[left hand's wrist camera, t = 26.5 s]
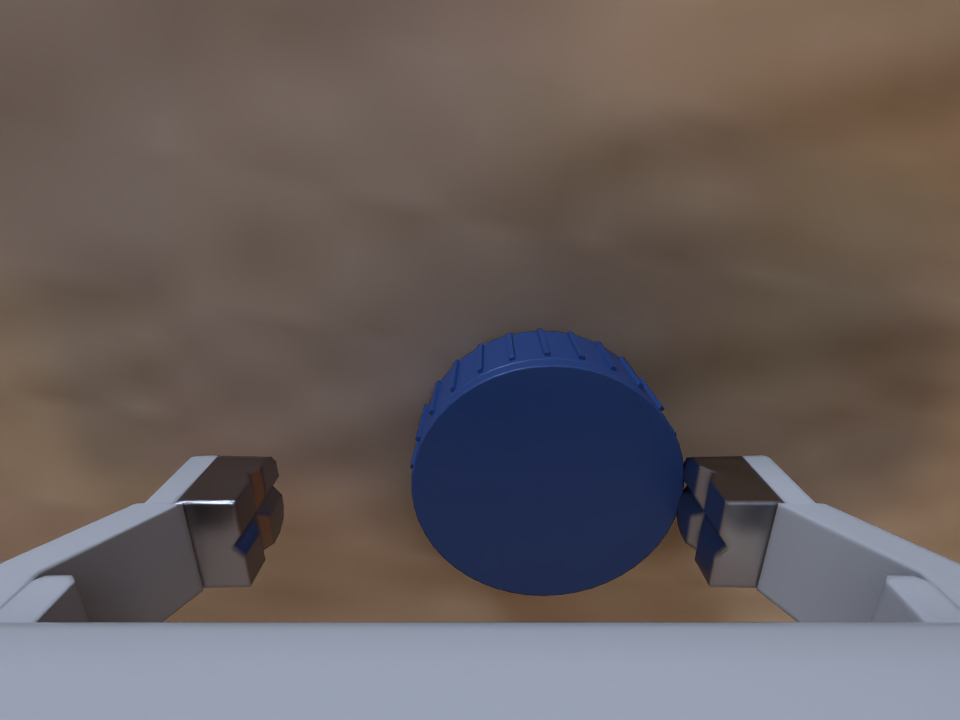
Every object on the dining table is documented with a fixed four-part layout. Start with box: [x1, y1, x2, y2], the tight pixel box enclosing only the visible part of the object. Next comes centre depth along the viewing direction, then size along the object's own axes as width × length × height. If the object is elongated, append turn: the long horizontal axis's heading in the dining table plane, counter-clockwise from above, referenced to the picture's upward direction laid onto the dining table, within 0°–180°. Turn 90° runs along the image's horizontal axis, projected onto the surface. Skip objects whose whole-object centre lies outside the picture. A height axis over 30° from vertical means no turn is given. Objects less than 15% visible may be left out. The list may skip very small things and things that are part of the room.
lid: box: [411, 329, 684, 596], centre depth 11 cm, size 6×6×2 cm
